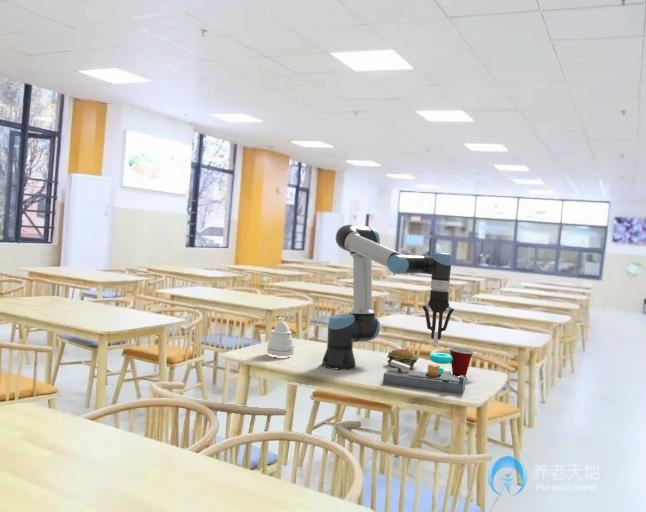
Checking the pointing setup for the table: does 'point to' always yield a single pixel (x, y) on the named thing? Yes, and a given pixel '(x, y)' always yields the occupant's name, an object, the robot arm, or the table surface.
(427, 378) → the console panel
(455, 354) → the plastic cup
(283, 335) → the honey pot
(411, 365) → the food
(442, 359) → the donuts
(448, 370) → the slider knob
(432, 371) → the orange button
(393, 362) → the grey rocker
